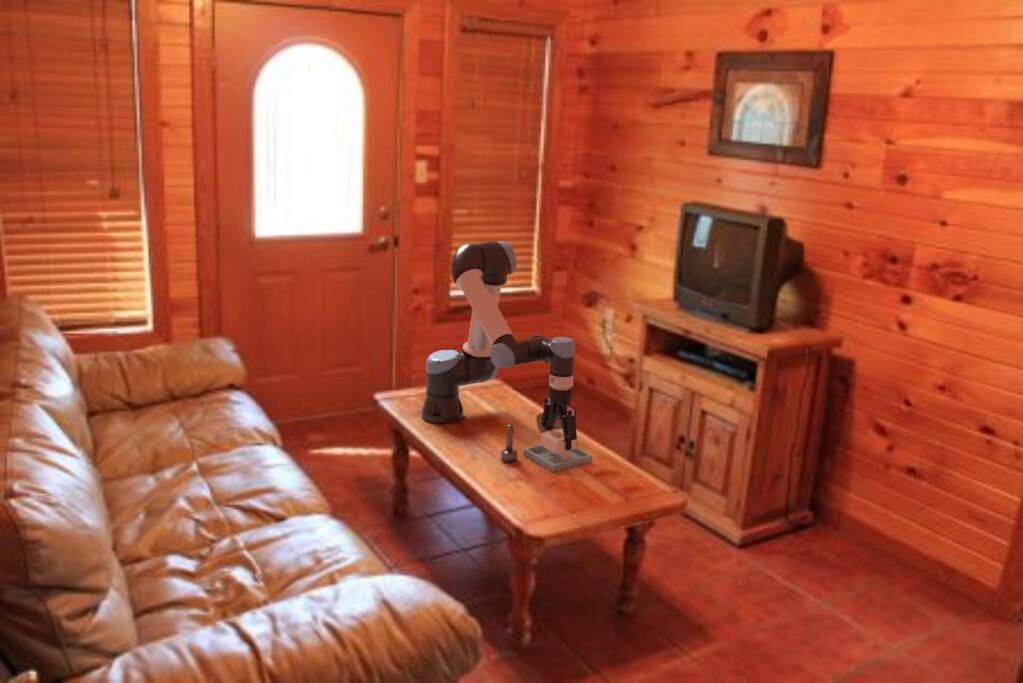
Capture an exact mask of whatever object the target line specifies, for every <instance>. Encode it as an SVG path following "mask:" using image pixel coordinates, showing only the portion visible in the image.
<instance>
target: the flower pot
mask: <svg viewBox="0 0 1023 683" xmlns="http://www.w3.org/2000/svg"><path fill="white" fill-rule="evenodd" d="M564 416H565V415H564ZM564 416H562V417H564ZM542 417H543V412H541V413H538V414H537V415H536V416H535V421H536V427H537V428H538V431H539V433H540V434H541V433H545V432H546V430H545V427H544V426H542V425H541V423H542ZM545 422H546V421H545ZM552 429H554V430H558V429H562V424H561V420H560V419H559V416H557V418H556V421H555V423H554V427H553V428H552ZM552 429H551V430H552ZM562 430H563V429H562Z"/></svg>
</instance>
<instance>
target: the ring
mask: <svg viewBox="0 0 1023 683" xmlns="http://www.w3.org/2000/svg"><path fill="white" fill-rule="evenodd" d="M564 439H565V438H564V433H563V429H558V430H554V431H550V432H545V433H540V444H539V445H541V446H543V447H544V448H546V449H548V450H550V451H551V452H553V453H555V454H557V453H561V452H562V447H563V440H564ZM576 443H577V439H576V440H572V445H571V450H572V449H575V448H576V447H577V445H576Z"/></svg>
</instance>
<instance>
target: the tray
mask: <svg viewBox="0 0 1023 683" xmlns="http://www.w3.org/2000/svg"><path fill="white" fill-rule="evenodd" d="M523 457H526V458H527V459H529V460H531V461H532V462H534V463H535V464H536V465H538V466H540V467H542V469H543V468H544V469H545V470H547V471H548V472H550V473H552V474H554V473H559V472H561V471H565V470H569V469H573V468H576V467H580V466H584V465H587V464H591V462H593V455H592V454H590V453H588V452H587V451H585V450H583V449H581V448H579V447H578V446H576V448H575V449H572V450H570V458H568V459H565V460H563V459H562V452H561V453H557V454H555V453H553V452H551V451H550V450H545V448H544V447H543V446H541V445H540V444H536V445H531V446H528V447H525V448H523Z"/></svg>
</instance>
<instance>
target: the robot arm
mask: <svg viewBox="0 0 1023 683" xmlns="http://www.w3.org/2000/svg"><path fill="white" fill-rule="evenodd" d="M516 256H517V255H516V253H515V250H514V248H513V247H512V246H511V244H510V243H509V242H507V241H505V240H504V241H503V240H499V241H498V240H493V241H485V242H484V241H483V242H474V243H473V242H470V243H466V244H463V245H462V246H460V247H459V248H457V249H456V250H455V252H454V254H453V256H452V258H451V261H450V273H451V274H450V275H451V277H452V280H453V282H454V284H455V286H456V288H458V289H459V290H462V292H463V295H464V296H465V298H466V300H467V301H468V304H469V305H470V307H471V309H472V312H471V317H470V318H471V319H470V324H469V333H468V338H467V341H466V342H465V343H463V345H462V348H461V349H462V350H461V352H460V353H459V352H458V351H457V350H454V349H443V350H438V351H434V352H432V353H430V354H429V355H428V357H427V359H426V363H425V365H426V366H425V382H426V383H425V389H426V390H425V391H426V392H425V398H424V401H423V404H422V408H421V411H420V412H421V414H420V415H421V418H422V419H423V421H425V422H429V423H433V424H434V423H435V424H451V423H453V424H454V423H456V422H459V421H460V420H463V418H464V407H463V405H462V401H461V398H460V387H463V386H469V385H474V384H478V383H480V384H481V383H485V382H489V381H491V380H493V379H494V378H495V377H496V376H497V375H498V373H499V369H502V368H512V367H516V366H520V365H528V364H532V363H537V362H543V363H546V364H547V365H549V378H548V380H549V381H548V383H549V384H548V385H549V386H548V397H546V398H544V399H543V402H544V403H543V404H544V405H543V412H542V413H543V417H542V423H541V425H542V426H544V427H545V430H546V432H550V431H554V429H552V428H553V427H554V423H555V421H556V418H557V416H559V419H560V420H561V424H562V430H563V433H564V438H565V439H564V440H563V447H562V459H563V460H565V459H568V458H570V450H571V445H572V440H576V441H577V439H578V436H577V434H578V433H577V420H576V417H577V416H576V415H577V409H576V408H571V404H570V402H571V400H572V399H573V396H574V395H573V392H574V390H573V389H574V388H573V387H574V373H575V372H574V371H575V370H574V369H575V355H576V347H575V346H576V343H575V341H574V339H573V338H571V337H566V336H555V337H553V338H552V339H551V338H549V337H547V336H546V335H542V334H538V333H537V334H536V333H534V334H531V335H530V336H529V337H527V338H526V339H523V340H522V339H521V340H517V338H516V337H515V336H514V334H513V332H512V330H511V328H510V326H509V325H508V322H507V321H506V319H505V317H504V316H503V314H502V312H501V310H500V308H499V303H500V297H501V296H500V295H501V291H502V290H501V289H502V286H504V285H506V284H507V282H508V281H507V279H508V276H510V275H513V273H515V272H516V269H517V263H518V262H517V261H518V260H517V257H516ZM562 416H564V417H562ZM545 421H546V422H545ZM551 429H552V430H551ZM545 450H548V449H546V448H545Z"/></svg>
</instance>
